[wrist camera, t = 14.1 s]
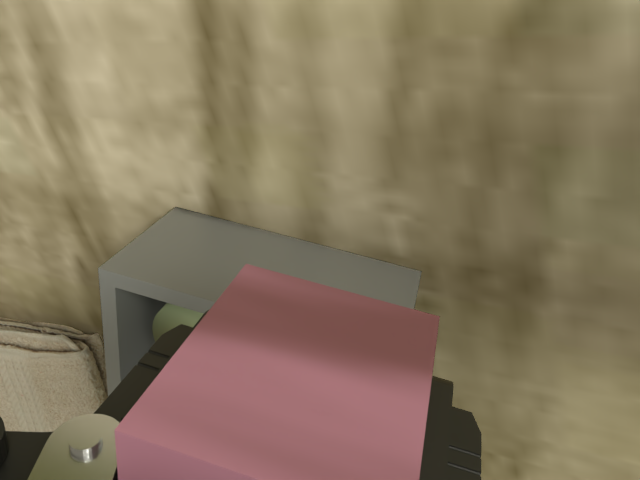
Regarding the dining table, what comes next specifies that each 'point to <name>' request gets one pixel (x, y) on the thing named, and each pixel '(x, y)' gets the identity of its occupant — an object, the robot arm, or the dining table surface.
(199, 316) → the green cylinder
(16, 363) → the washcloth
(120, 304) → the bin
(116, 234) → the dining table surface
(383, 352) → the pink cube
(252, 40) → the dining table surface
